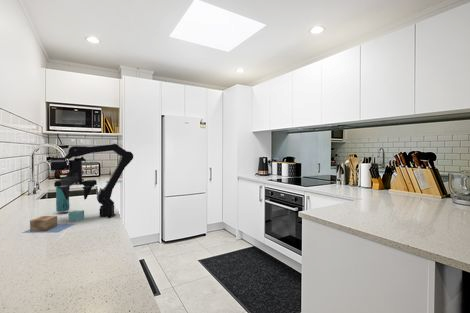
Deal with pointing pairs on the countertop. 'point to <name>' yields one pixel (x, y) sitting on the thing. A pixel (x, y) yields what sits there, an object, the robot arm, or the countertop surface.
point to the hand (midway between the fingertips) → (76, 199)
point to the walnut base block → (43, 223)
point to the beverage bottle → (61, 201)
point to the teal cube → (76, 215)
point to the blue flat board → (53, 230)
